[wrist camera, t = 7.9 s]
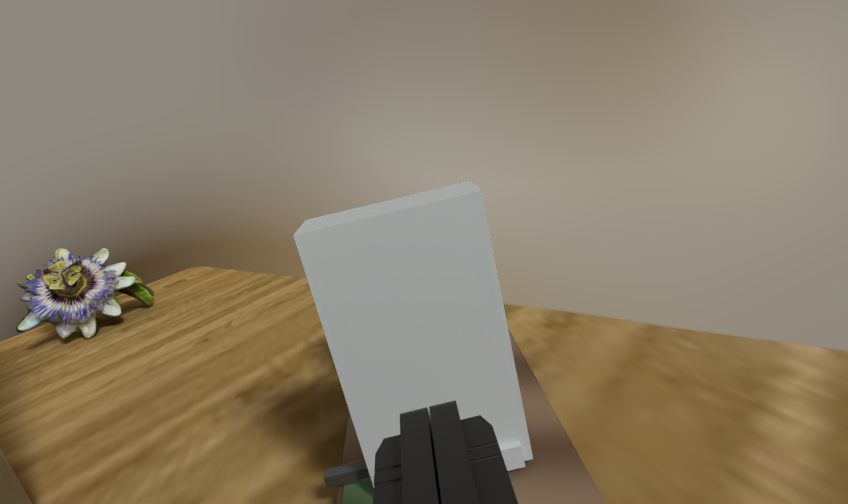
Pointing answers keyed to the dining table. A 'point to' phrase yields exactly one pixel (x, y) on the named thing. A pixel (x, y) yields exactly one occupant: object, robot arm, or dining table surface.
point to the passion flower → (78, 293)
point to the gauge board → (543, 475)
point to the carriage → (414, 317)
